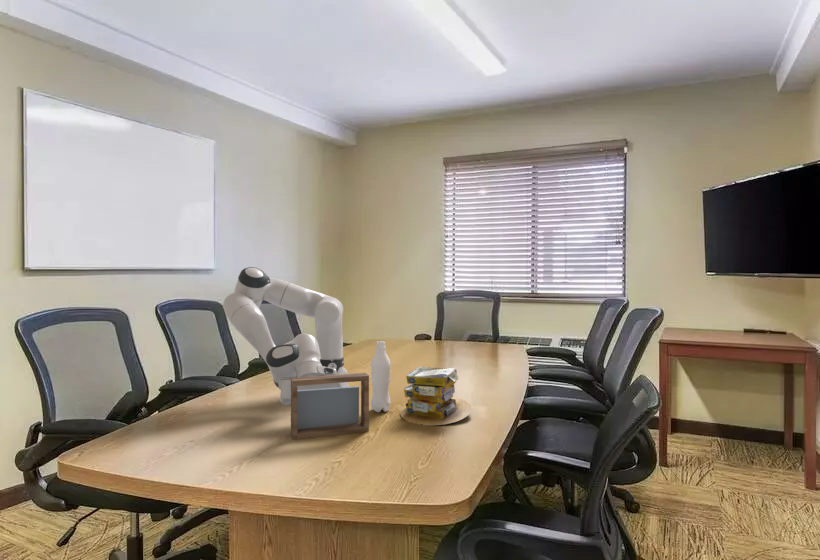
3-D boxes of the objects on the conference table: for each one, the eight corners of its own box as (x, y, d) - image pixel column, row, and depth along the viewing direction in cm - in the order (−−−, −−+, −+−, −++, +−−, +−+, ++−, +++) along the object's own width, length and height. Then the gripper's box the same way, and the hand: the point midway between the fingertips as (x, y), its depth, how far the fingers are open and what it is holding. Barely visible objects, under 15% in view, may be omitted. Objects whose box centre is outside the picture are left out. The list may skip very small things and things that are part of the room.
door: (295, 428, 158) (295, 390, 157) (357, 422, 164) (358, 386, 164) (295, 430, 156) (295, 391, 156) (358, 424, 162) (359, 387, 162)
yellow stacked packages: (441, 431, 159) (441, 378, 159) (385, 415, 176) (386, 367, 175) (484, 414, 177) (485, 367, 177) (430, 402, 194) (431, 358, 194)
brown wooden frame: (290, 434, 155) (290, 377, 154) (365, 426, 163) (365, 372, 162) (292, 439, 150) (292, 380, 150) (368, 430, 159) (368, 375, 158)
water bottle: (393, 408, 184) (393, 340, 183) (386, 414, 177) (386, 343, 177) (375, 406, 186) (375, 339, 186) (367, 412, 179) (367, 342, 179)
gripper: (278, 372, 163) (280, 410, 154) (340, 369, 170) (346, 405, 161) (277, 383, 168) (279, 420, 159) (338, 379, 174) (343, 415, 165)
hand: (313, 413), depth 160 cm, fingers closed
